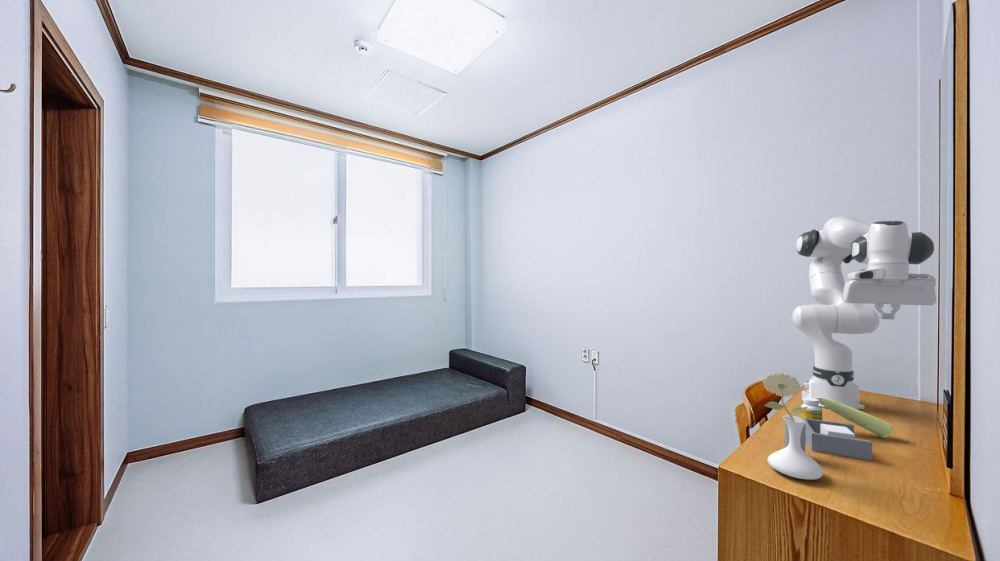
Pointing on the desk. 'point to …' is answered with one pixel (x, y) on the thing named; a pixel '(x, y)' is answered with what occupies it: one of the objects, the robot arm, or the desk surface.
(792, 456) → the flower in vase
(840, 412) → the tube
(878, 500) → the desk surface
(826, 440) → the box
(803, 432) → the grey hollow cylinder
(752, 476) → the desk surface
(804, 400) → the supplement bottle
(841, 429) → the white cube
